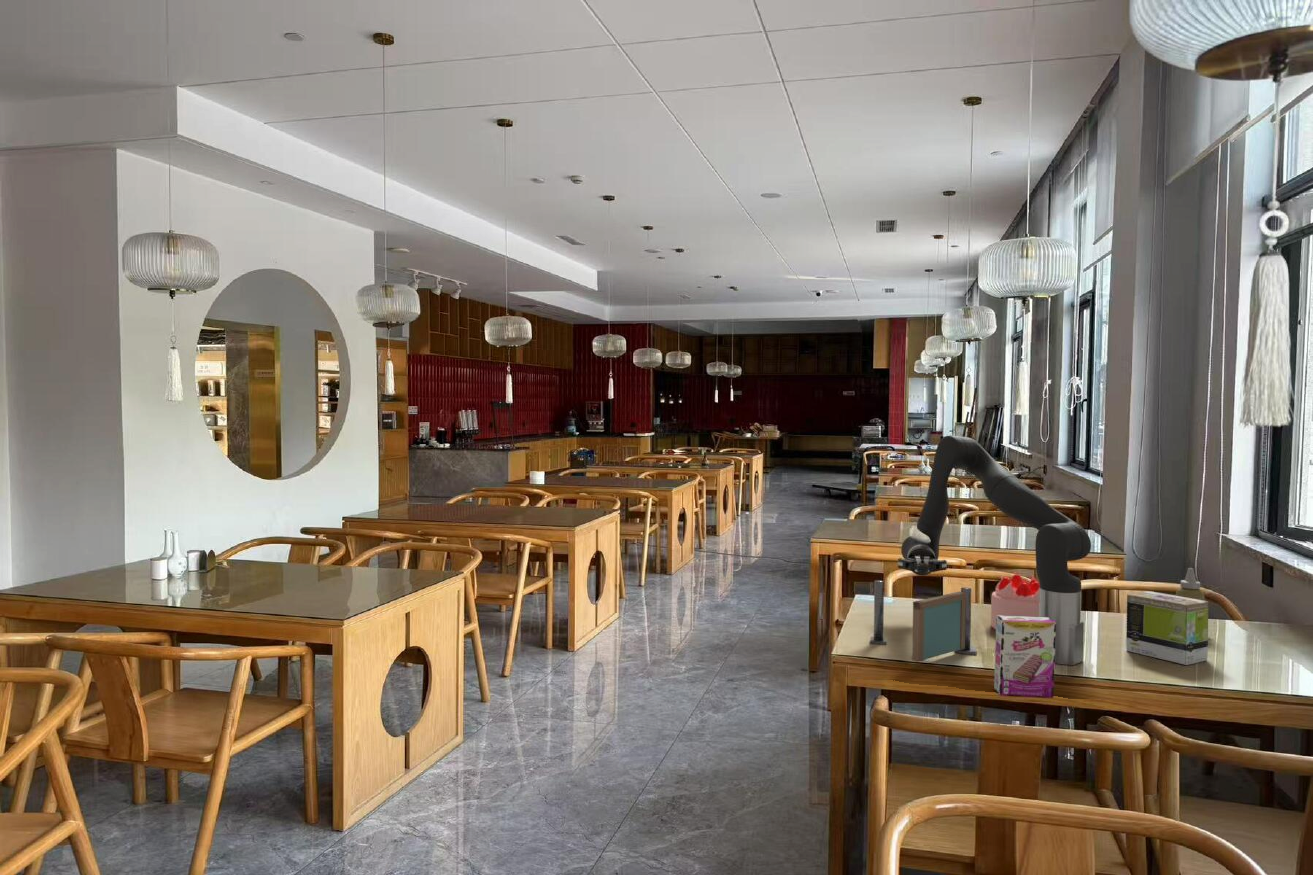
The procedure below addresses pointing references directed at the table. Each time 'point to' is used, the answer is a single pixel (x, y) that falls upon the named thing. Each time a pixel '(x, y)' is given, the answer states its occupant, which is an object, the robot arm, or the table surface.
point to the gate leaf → (938, 625)
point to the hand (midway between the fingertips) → (922, 569)
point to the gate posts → (880, 618)
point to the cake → (1015, 598)
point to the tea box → (1167, 627)
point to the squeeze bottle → (1190, 587)
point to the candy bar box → (1025, 656)
